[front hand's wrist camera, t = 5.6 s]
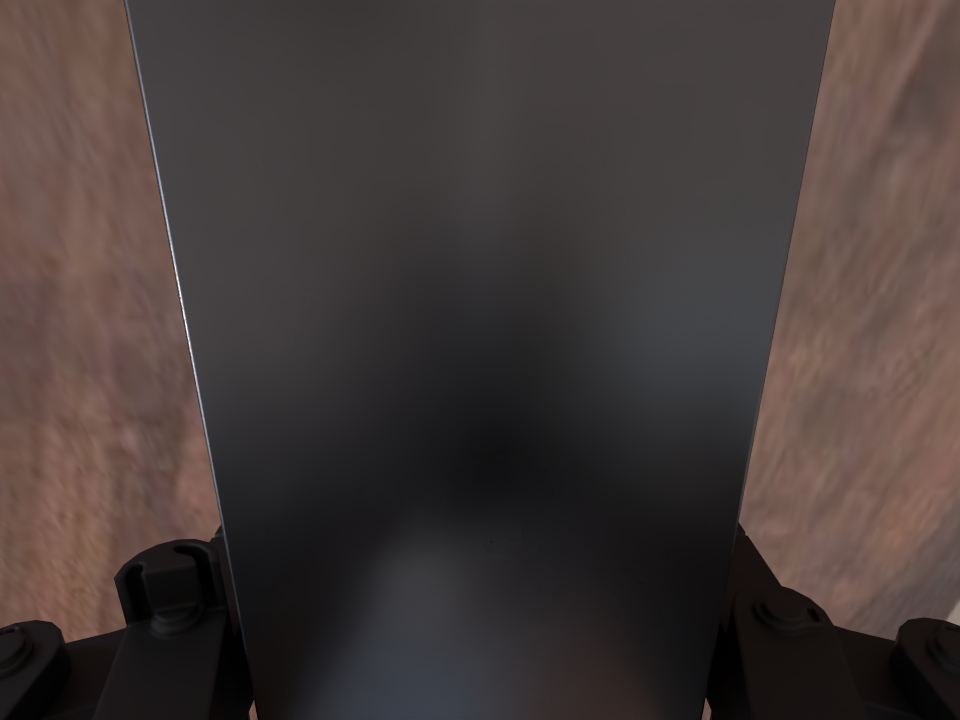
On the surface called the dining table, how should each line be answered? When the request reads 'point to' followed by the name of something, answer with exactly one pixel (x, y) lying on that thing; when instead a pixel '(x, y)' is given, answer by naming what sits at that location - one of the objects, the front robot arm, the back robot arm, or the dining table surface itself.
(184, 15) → the bar
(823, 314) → the dining table surface
